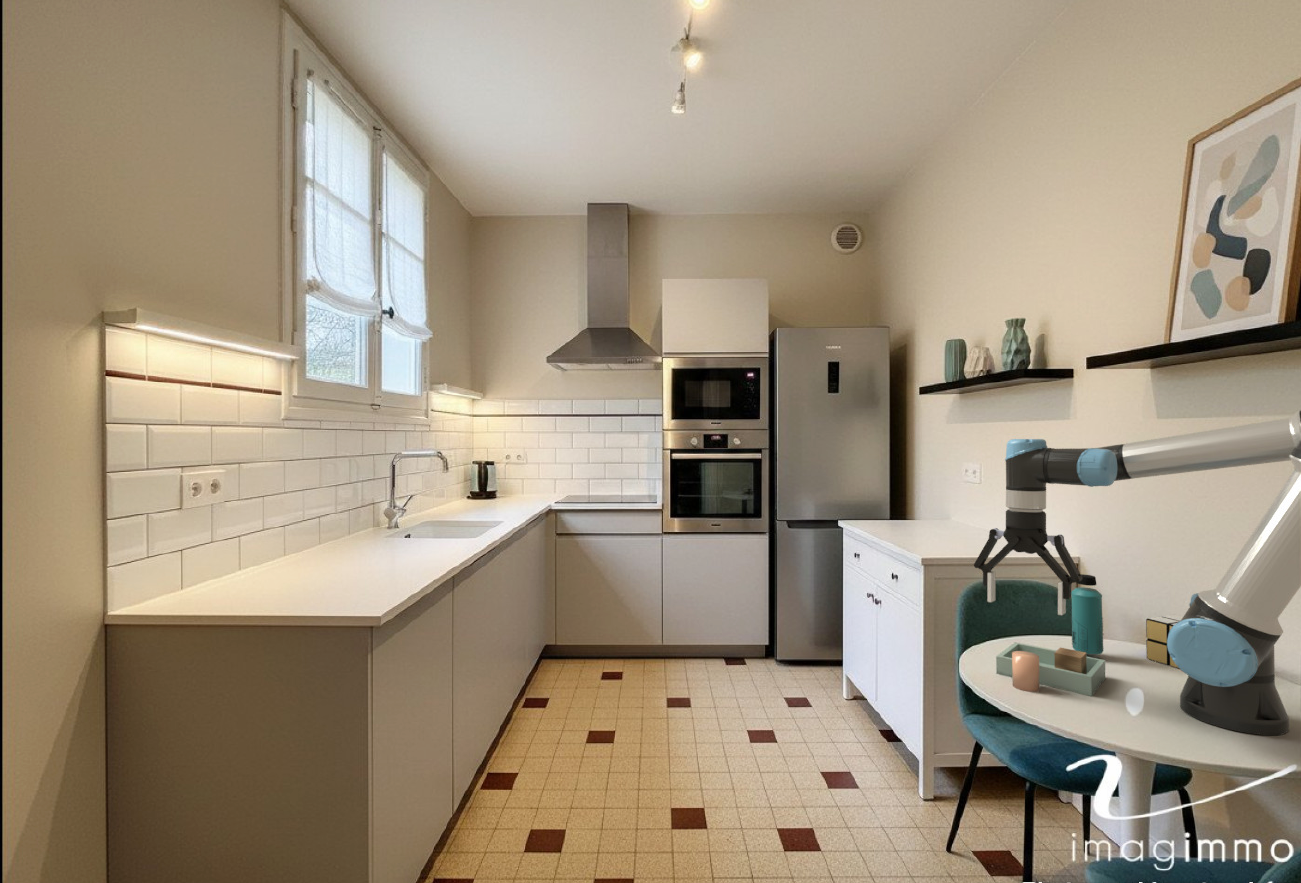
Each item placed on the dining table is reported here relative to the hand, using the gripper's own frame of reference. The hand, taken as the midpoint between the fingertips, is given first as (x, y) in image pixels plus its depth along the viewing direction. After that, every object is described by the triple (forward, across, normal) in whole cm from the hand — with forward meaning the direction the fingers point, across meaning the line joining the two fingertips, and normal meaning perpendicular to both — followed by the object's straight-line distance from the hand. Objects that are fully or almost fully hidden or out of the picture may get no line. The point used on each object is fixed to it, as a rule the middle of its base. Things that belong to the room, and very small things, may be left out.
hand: (1025, 607), depth 134 cm
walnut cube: (+16, -6, -12) cm, 21 cm away
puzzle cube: (+17, -21, -42) cm, 50 cm away
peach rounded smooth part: (+17, 0, +1) cm, 17 cm away
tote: (+17, -2, -10) cm, 20 cm away
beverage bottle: (+17, -5, -31) cm, 36 cm away
